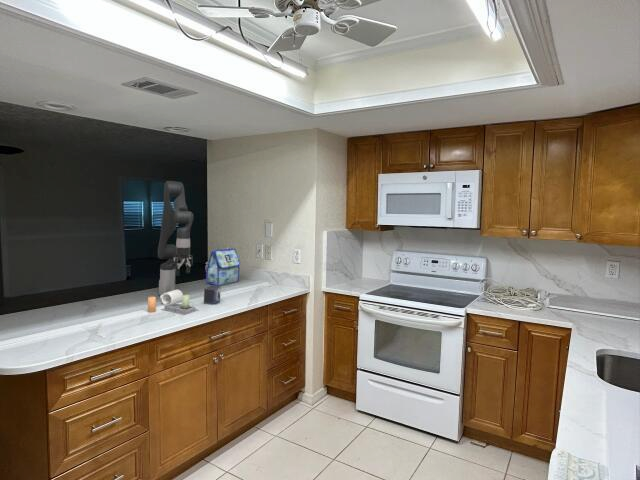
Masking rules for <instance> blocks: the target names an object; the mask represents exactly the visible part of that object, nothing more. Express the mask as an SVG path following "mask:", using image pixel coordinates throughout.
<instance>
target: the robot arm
mask: <svg viewBox="0 0 640 480" xmlns="http://www.w3.org/2000/svg"><path fill="white" fill-rule="evenodd" d="M163 187H164V190H163V208H162V214H161V225H160V236H159V242H158V247H157V258H159V260H166V261H165V262H164V263H161V264H160V268H159V271H160V273H159V276H160V277H159V280H158V295H159V296H161V295H163V294H164V293H166V292H170V291H173V290H176V276H177V277H178V276H180V273H181V272H180V268H181V266H183V265H184V264H185V266H186V267H185V273H186V274H190V273H191V266H193V265H194V256H193V254H191V237H190V236H191V228H192V225H193V221H194V214H193V212H192V211H189V210H188V206H187V203H186V195H185V194H186V193H185V186H184V183H182V182H181V181H175V180H167V181H165V183H164V186H163ZM171 197H176V198H175V199H174V201H173V205H172V202H171V199H170V198H171ZM178 224H181V225H182V224H183V225H185V226H182V227H178V228H177V226H178ZM175 230H176V242H175V244H167V242H168V240H169V238H170V236H171V235H172V234H173V233H174V231H175Z"/></svg>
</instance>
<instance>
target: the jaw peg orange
mask: <svg viewBox="0 0 640 480" xmlns="http://www.w3.org/2000/svg"><path fill="white" fill-rule="evenodd" d="M156 301H157V296H148V297H147V312H148V313H156V312H157V311H156V310H157V302H156Z"/></svg>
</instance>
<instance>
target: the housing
mask: <svg viewBox="0 0 640 480" xmlns="http://www.w3.org/2000/svg"><path fill="white" fill-rule="evenodd" d="M160 311H165V312H169V313H174V314H178V315H182V316H187V315H189V314H192V313H194V312H195V313H196V312H198V311H199V309H197V308H196V306H191V305H189V309H187V310H185V309H182V303H179V302H177V303H172V304H170V303H167V304H166V305H165V304H164V308H162V309H160Z"/></svg>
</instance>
